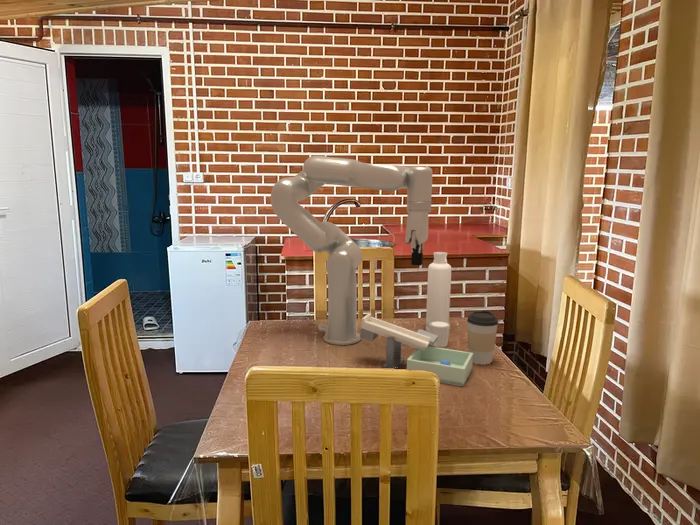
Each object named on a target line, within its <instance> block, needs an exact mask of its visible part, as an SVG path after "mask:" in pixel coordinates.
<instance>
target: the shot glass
mask: <svg viewBox="0 0 700 525" xmlns="http://www.w3.org/2000/svg"><path fill="white" fill-rule="evenodd" d="M450 330H451V324H450V322H449V323H447V322H443V321H433V322H430V323H429V333H432V334H435V335H438V339H437V340H436V342H435V343H434V344H433V345H431V347H438V348H444V347H447V346H448V342H449V337H450Z"/></svg>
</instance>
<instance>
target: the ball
mask: <svg viewBox="0 0 700 525" xmlns="http://www.w3.org/2000/svg"><path fill="white" fill-rule="evenodd" d="M440 364H443V365H449V366H451V365H450V362H449V361H447V360H443V361H441V363H440Z"/></svg>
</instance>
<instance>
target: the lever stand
mask: <svg viewBox="0 0 700 525" xmlns="http://www.w3.org/2000/svg"><path fill="white" fill-rule="evenodd" d="M385 343H386V346H385V347H386V349H385V352H386V353H385V363H384V364H383V365H382V369H383V368H394V369H397V370H398V369H399V368H400V367H401V365H402V364H403V363H404V362H405V358H403V357H402V344H403V343H401V342H398V341H396V340H394V338H390V337H386V342H385ZM395 367H396V368H395ZM397 367H399V368H397Z"/></svg>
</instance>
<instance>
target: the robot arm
mask: <svg viewBox="0 0 700 525" xmlns="http://www.w3.org/2000/svg"><path fill="white" fill-rule="evenodd" d="M328 184H329V185H337V186H345V187H351V188H361V189H362V188H363V189H369V190H376V191H377V190H379V191H384V192H395V191H398V190H403V189H406V190H407V191H406V192H407V193H406V195H407V196H406V212H407V217H406V227H405V228H406V229H405V239H404V240H405V241H404V242H405V243H406V244H408V245H409V244H410V249H411V260H410V261H411V263H410V264H411V266H419V267H421V266H422V265H423V262H424V260H423V259H424V258H423V257H424V244H425V242H427V240H428V238H429V213H432V200H433V199H432V197H433V196H432V194H433V193H432V192H433V169H432V168H431V167H430V166H404V165H385V164H375V163H367V162H362V161H359V160H357V159H353V158H352V159H351V158H344V157H343V158H342V157H332V156H325V155H312V156H310V157H308V158H307V159H306V160H305V161H304V162H303V166H302V170H301V171H300V172H298V173H297V174H296V175H295V176H290V177H288V176H287V177H284V178H281V179H279V180H277V182H275V183H274V185H273V187H272V188H271V192H270V193H271V194H270V204H271V208H272V210H273V213H274V214H275V215H276V216H277V218H278V219H279V220H280V221H281V222H282V223H283V224H284V225H285V226H286V227H287V228H288V229H289V230H291V232H292V233H294V235H295V236H297V238H298V239H299V240H301V241H302V242H303V243H304V244H305V245H306V246H307V247H308V248H309V249H310V250H311V251H312V252H314V253H318V254H320V253H325V252H326V254H328V256H327V259H326V263H325V264H326V265H325V266H326V268H325V269H326V273H327V274H326V275H327V294H328V295H327V302H328V303H327V324H325V323H320V322H319V323H318V326H317V329H318V331H319V332H324V334H323V340H324V341H325V342H326V343H328V344H331V345H336V346H337V345H338V346H346V345H347V346H348V345H353V344H356V343H359V342H360V341H361V340H362V338H360V333H359V332H357V308H358V305H357V304H358V302H357V300H358V299H357V296H358V294H357V293H358V290H357V288H358V287H357V286H358V285H357V284H358V283H357V271H356V270H357V268H358V267H360V265H361V264H362V262H363V259H364V258H363V252H362V250H361V248H360V246H359V245H358V244H357V243H356V242H355V241H354V240H353V239H351V237H349V235H347V234H346V233H345V232H344V231H343V230H342V229H341V228H340V227H339V226H338V225H336V224H335V223H333V222H331V221H320V220H318V219H317V218H316V217H315V216H314V215H313V214H312V213H311V212H310V211H309V210H307V209H306V208H305V207H303V206H302V205H301V204H300V203H299V202H301V201H304V200H306V199H308V197H310V196H312V195H313V194H314V193H315V192H317V191H318V190H320V188H322V187H323V186H324V185H328Z"/></svg>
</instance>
